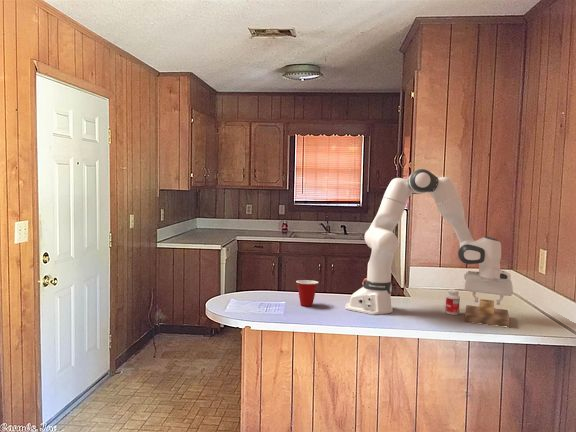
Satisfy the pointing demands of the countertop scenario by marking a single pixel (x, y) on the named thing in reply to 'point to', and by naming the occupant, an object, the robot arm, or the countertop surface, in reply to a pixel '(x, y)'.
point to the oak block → (486, 306)
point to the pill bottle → (452, 302)
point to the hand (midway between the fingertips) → (487, 303)
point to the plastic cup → (306, 292)
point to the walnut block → (487, 316)
